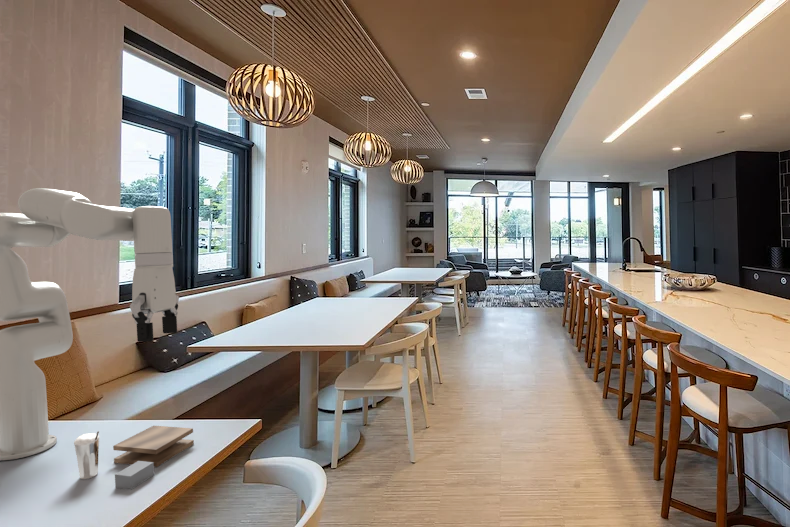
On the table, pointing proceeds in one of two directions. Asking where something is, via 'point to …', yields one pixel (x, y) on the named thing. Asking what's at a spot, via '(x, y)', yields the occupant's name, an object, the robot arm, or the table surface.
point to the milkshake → (87, 454)
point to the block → (134, 475)
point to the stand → (154, 445)
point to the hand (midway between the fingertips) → (158, 336)
